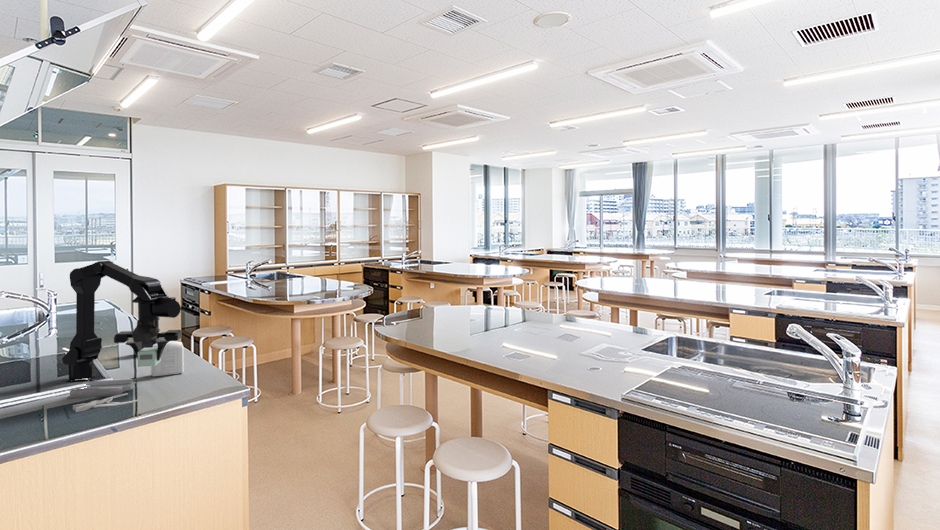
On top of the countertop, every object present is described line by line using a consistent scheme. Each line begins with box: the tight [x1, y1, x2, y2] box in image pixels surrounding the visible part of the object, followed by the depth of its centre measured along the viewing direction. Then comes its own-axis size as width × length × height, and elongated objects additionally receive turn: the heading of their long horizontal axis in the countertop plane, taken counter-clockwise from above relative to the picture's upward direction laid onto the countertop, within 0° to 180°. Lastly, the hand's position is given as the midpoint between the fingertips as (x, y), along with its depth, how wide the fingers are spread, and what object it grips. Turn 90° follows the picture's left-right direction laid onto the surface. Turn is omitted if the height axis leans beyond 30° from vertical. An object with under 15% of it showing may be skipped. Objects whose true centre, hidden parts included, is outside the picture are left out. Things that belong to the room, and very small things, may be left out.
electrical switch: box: [133, 338, 160, 355], centre depth 202 cm, size 9×5×9 cm, turn 117°
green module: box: [137, 347, 161, 368], centre depth 164 cm, size 5×6×5 cm
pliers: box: [72, 392, 139, 413], centre depth 148 cm, size 10×2×15 cm
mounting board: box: [67, 378, 135, 399], centre depth 159 cm, size 14×13×2 cm
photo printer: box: [150, 340, 185, 377], centre depth 177 cm, size 10×4×12 cm, turn 123°
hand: (149, 360), depth 164 cm, fingers closed on green module, 5 cm apart
